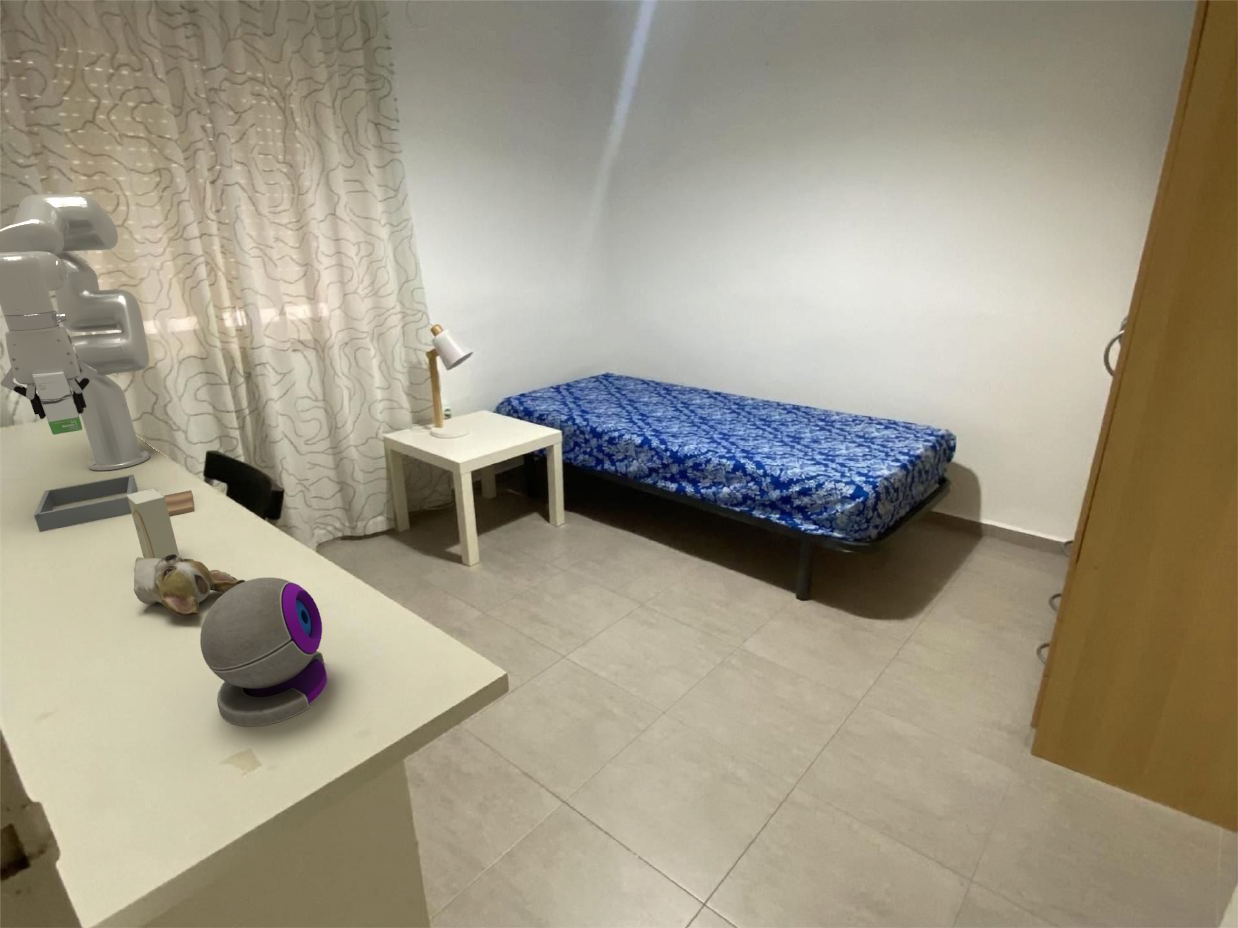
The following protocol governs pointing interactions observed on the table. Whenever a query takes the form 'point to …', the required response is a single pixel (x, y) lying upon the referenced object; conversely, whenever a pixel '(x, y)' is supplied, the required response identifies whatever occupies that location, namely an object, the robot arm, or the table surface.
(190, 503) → the pad
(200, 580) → the ceramic sculpture
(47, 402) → the ink box
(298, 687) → the webcam
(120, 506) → the bin
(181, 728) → the table surface
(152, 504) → the skincare box
